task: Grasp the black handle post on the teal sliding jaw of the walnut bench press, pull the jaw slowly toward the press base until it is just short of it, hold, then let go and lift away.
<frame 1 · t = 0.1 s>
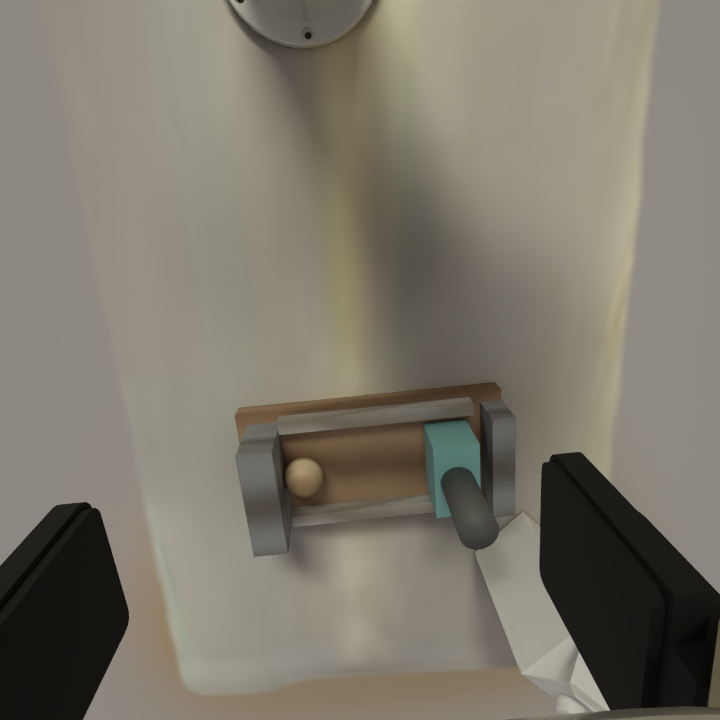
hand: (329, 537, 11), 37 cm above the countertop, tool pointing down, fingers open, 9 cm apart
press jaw: (460, 488, 43), point 8 cm above the countertop, slide at 0.0 cm
press base: (372, 450, 51), on the countertop
milk carton: (517, 548, 56), on the countertop
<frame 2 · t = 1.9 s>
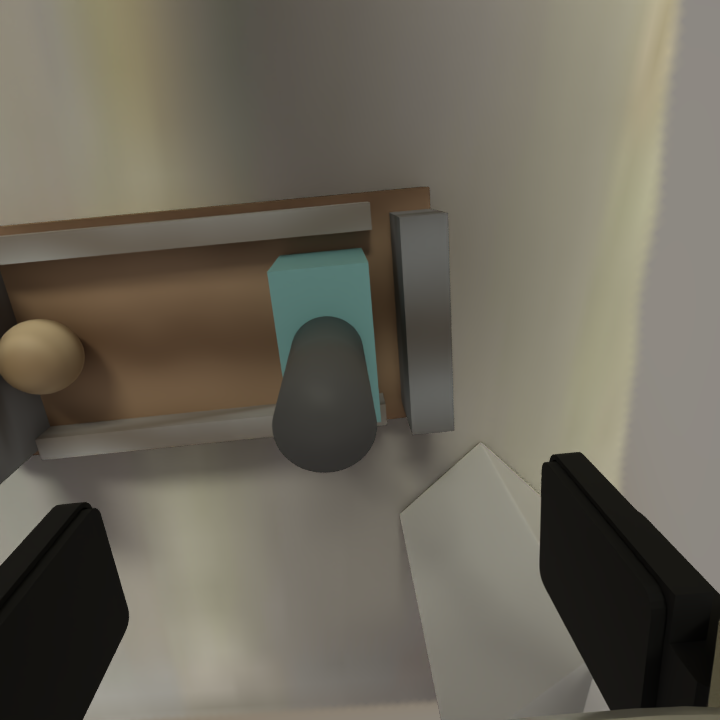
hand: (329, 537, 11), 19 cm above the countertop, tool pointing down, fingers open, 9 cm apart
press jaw: (327, 358, 20), point 8 cm above the countertop, slide at 0.0 cm
press base: (201, 322, 28), on the countertop
milk carton: (474, 506, 33), on the countertop
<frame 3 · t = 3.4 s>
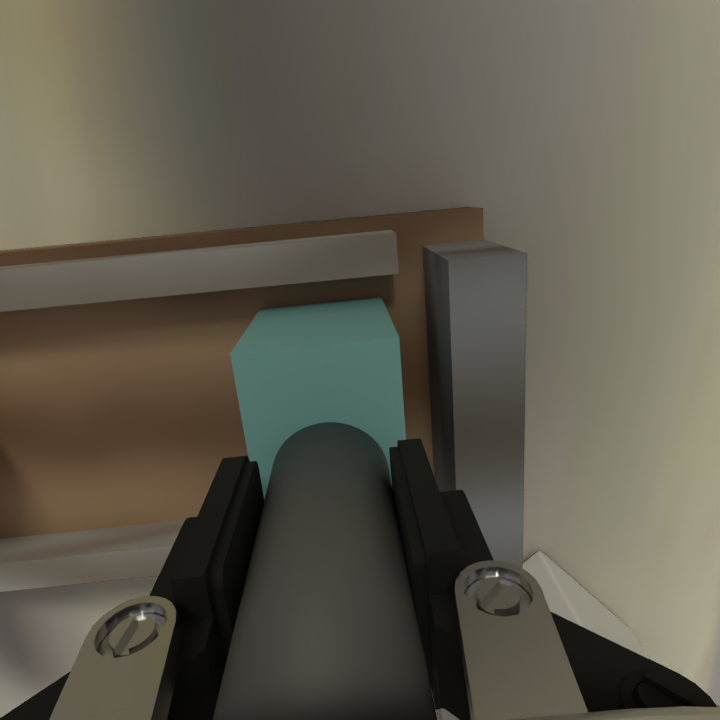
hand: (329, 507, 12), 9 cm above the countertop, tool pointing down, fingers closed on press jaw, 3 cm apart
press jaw: (330, 497, 12), point 8 cm above the countertop, slide at 0.0 cm, touching gripper
press base: (154, 395, 20), on the countertop
milk carton: (526, 629, 25), on the countertop
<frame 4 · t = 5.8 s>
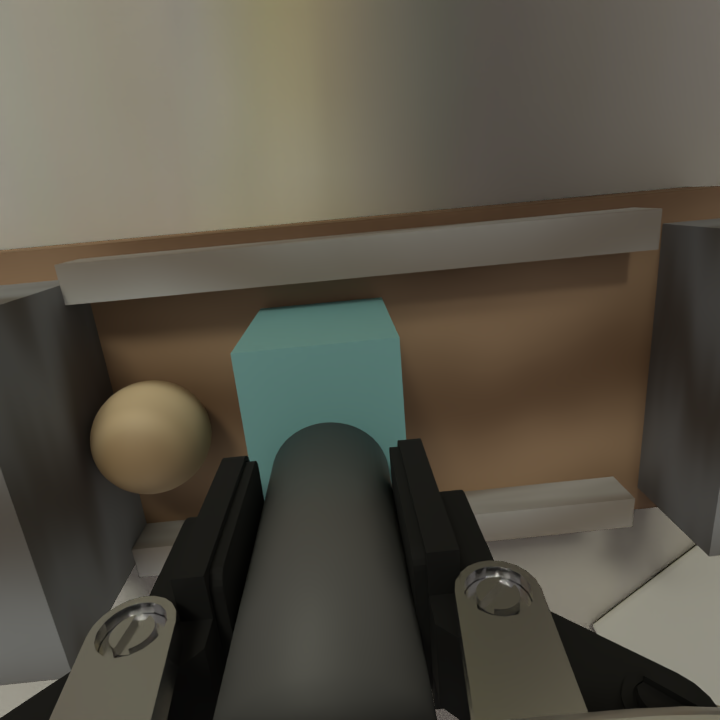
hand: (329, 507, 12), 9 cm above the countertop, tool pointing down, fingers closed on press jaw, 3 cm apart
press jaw: (330, 497, 12), point 8 cm above the countertop, slide at 7.9 cm, touching gripper
press base: (356, 376, 20), on the countertop
milk carton: (687, 613, 25), on the countertop
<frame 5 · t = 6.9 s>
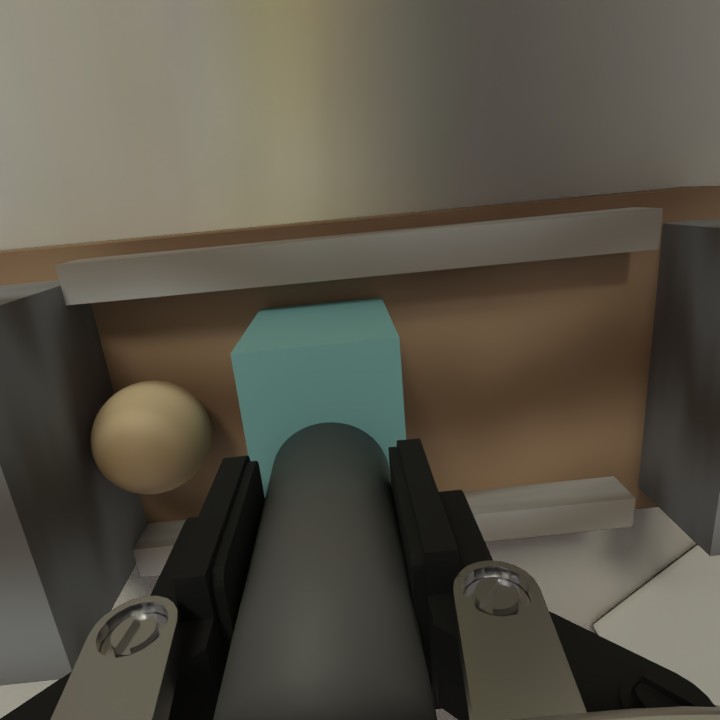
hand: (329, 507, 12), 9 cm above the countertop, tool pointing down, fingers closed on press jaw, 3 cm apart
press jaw: (330, 497, 12), point 8 cm above the countertop, slide at 8.0 cm, touching gripper
press base: (357, 376, 20), on the countertop
milk carton: (687, 612, 25), on the countertop
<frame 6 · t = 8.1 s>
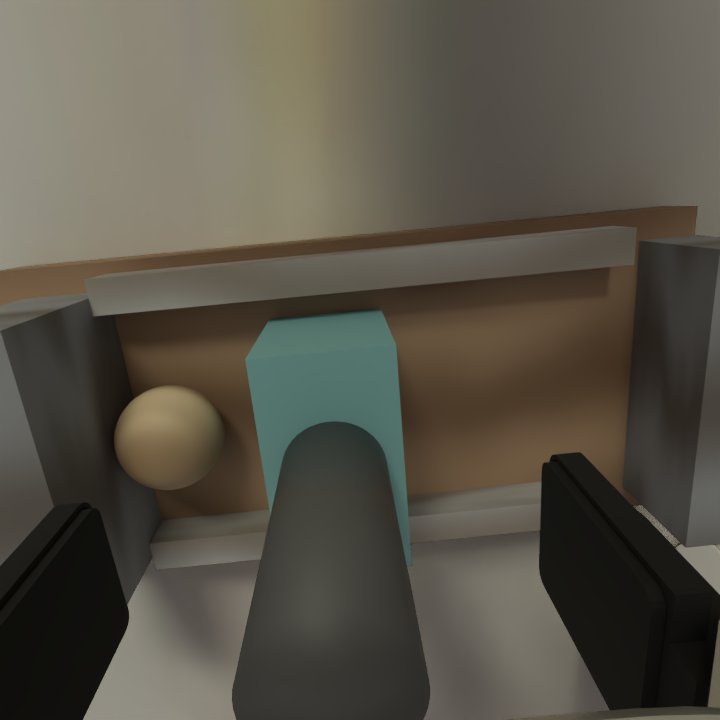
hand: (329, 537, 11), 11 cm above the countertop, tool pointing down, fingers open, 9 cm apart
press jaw: (334, 488, 13), point 8 cm above the countertop, slide at 8.0 cm
press base: (358, 381, 21), on the countertop
milk carton: (675, 609, 26), on the countertop
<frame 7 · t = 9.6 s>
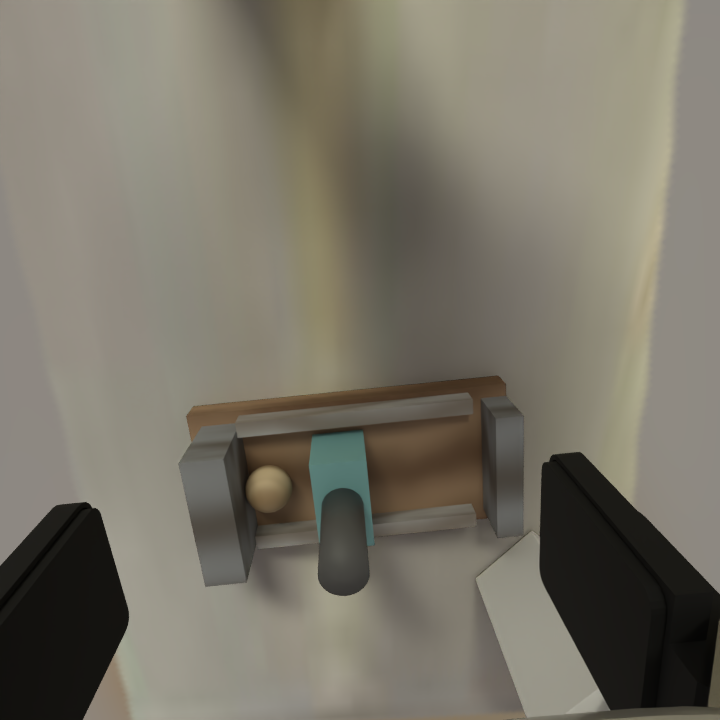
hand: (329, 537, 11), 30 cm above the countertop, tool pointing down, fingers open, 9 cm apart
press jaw: (342, 514, 35), point 8 cm above the countertop, slide at 8.0 cm
press base: (353, 456, 43), on the countertop
milk carton: (526, 573, 48), on the countertop
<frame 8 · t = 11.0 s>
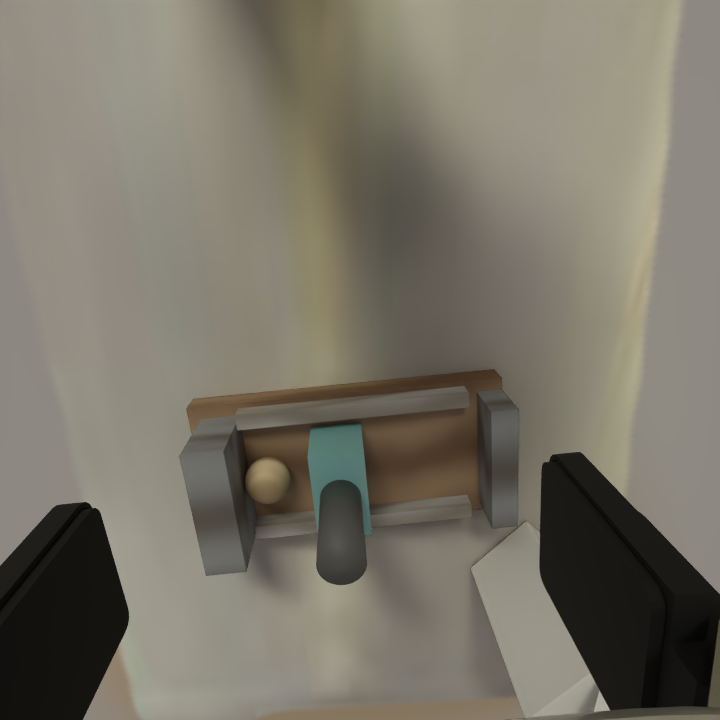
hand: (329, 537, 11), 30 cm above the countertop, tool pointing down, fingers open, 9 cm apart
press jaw: (340, 505, 36), point 8 cm above the countertop, slide at 8.0 cm
press base: (351, 448, 44), on the countertop
milk carton: (520, 562, 49), on the countertop
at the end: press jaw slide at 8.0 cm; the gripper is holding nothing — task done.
